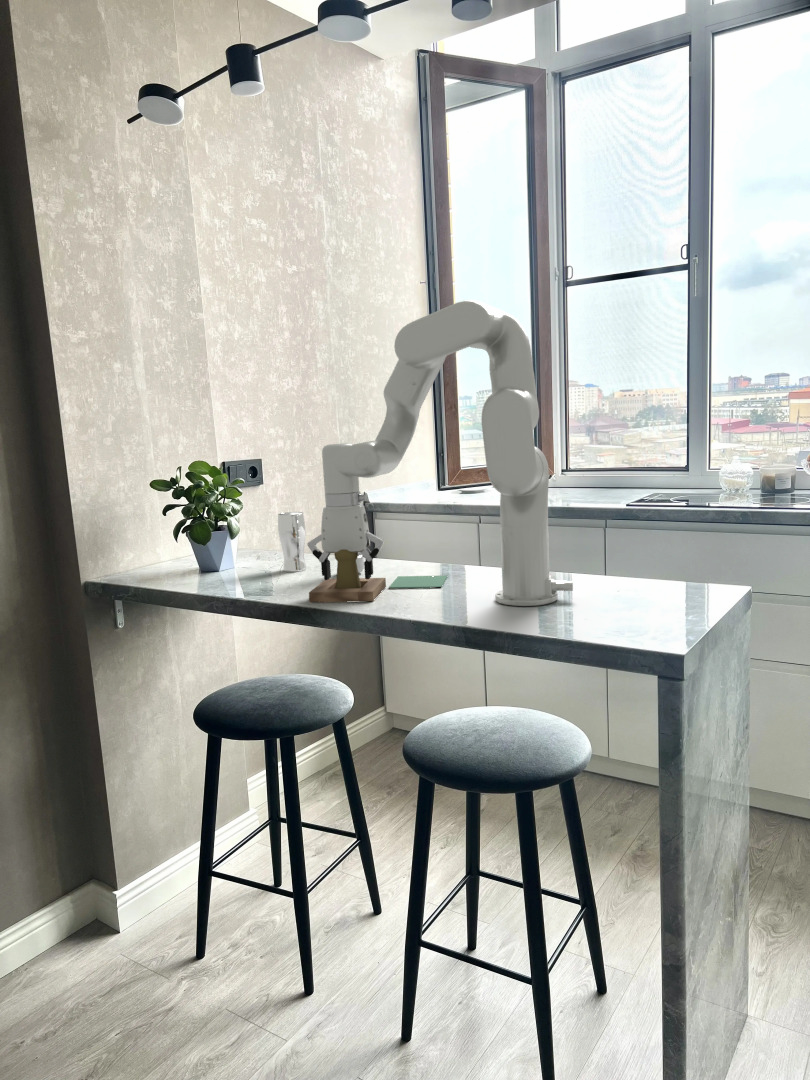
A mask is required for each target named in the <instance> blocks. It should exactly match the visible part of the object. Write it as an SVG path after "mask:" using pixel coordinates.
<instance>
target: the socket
mask: <svg viewBox="0 0 810 1080" xmlns="http://www.w3.org/2000/svg"><path fill="white" fill-rule="evenodd" d="M359 578H360V583H361V588H356V589H336V579H337V578H329V579H328V580H324V579H323V580H322V582H320V583H319V584H318V585H317V586H315V587H314V588H313V589H311V590H310V591H309V592H308V599H309V600H308V601H309V603H310V602H317V603H348V602H347V601H374V602H375V600H376V599H377V598H378V597H379V596H380V595H381V594H382V592H383V591H384V590H385V589H386V588H387V584H386V583H387V581H386V580H387V579H386V577H370V578H369V579H365V577H359ZM385 587H386V588H385ZM384 588H385V589H384ZM383 589H384V590H383ZM382 590H383V591H382ZM381 591H382V592H381ZM380 593H381V594H380ZM379 594H380V595H379ZM378 595H379V596H378ZM377 596H378V597H377ZM376 597H377V598H376ZM375 598H376V599H375ZM374 599H375V600H374Z"/></svg>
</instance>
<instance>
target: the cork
mask: <svg viewBox="0 0 810 1080" xmlns="http://www.w3.org/2000/svg"><path fill="white" fill-rule="evenodd" d="M333 554H334V558H335V560H336V561H337V562H336V563H337V565H336V567H337V568H336V578H335V579H336V589H356V588H361V583H360V578H361V577H360V574H359V573H358V568H357V563H356V559H357V557H358V552H355V553H353V552H350V551H348V550H346V549H342V550H339V551H338V552H336V553H333Z"/></svg>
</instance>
